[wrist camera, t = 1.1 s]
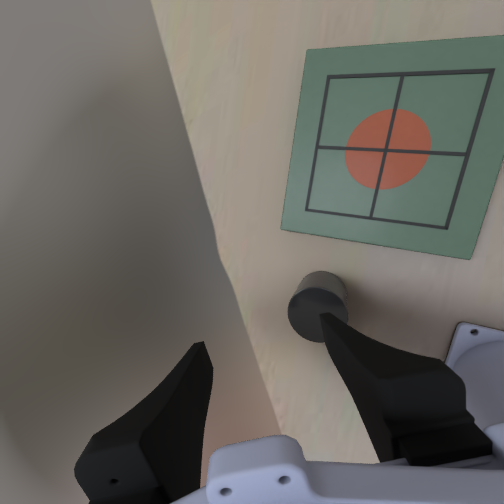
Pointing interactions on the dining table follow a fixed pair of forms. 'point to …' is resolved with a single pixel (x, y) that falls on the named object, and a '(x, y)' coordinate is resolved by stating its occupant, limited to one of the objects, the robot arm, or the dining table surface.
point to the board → (398, 144)
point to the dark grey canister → (317, 304)
